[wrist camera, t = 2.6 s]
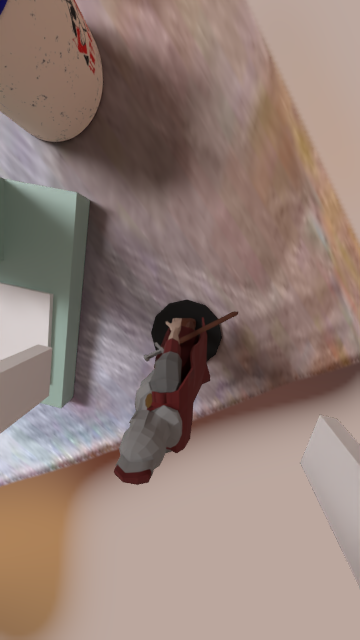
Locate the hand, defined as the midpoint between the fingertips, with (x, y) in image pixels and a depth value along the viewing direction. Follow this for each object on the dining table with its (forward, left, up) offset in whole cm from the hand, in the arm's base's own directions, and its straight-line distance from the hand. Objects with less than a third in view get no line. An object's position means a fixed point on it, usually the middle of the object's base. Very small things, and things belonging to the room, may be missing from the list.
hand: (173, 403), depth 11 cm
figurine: (0, 0, -11) cm, 11 cm away
